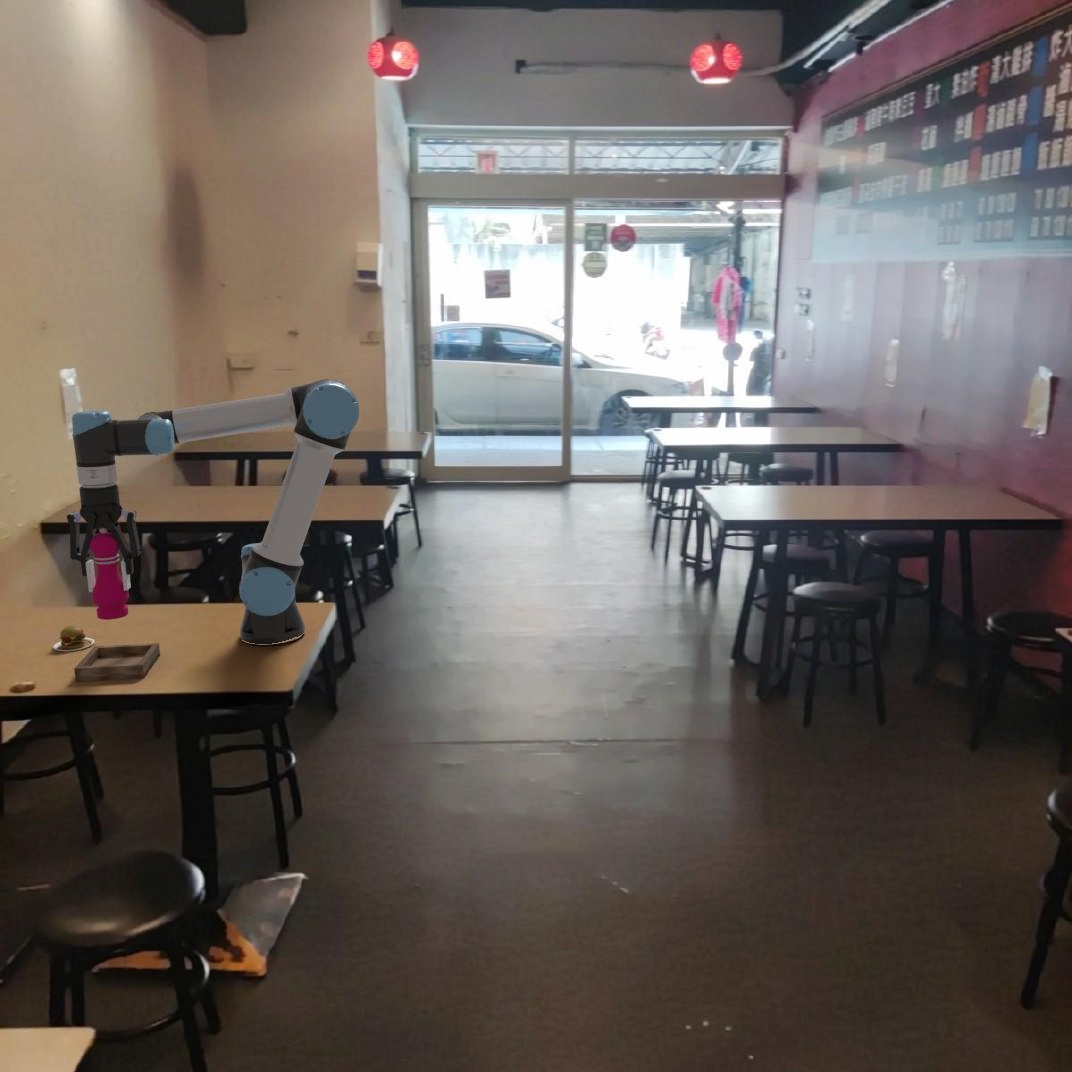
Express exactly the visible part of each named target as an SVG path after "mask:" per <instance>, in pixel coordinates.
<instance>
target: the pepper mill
mask: <svg viewBox="0 0 1072 1072" xmlns="http://www.w3.org/2000/svg"><path fill="white" fill-rule="evenodd" d="M98 531H99V533H97V534H95V536H94V537H93V538H92V539H91V542H90V549H91V553H93V554H94V556H93V562H94V564H96V567H97V568H96V569H97V575H96V576H97V577H96V584H95V587H94V590H93V592H92V602H93V603H94V604H95V605H96V606H98V608H96V616H97V619H100V620H103V621H104V620H106V621H107V620H108V621H109V620H116V619H122V618H125V617H126V616H128V615H129V607H128V605H127V604H125V603H126V602H127V601H128V600H129V598H130V593H129V589H128V590H126V591H124V587H123V578H122V575H121V574H120V571H119V563H118V562H120V554H119V553H118V552H119V551H120V549H119V547H118V545H117V543H116V541H115V539H114V537H113V535H112V533H111V532H109V528H99V529H98Z"/></svg>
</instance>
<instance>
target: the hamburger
mask: <svg viewBox="0 0 1072 1072" xmlns="http://www.w3.org/2000/svg"><path fill="white" fill-rule="evenodd" d="M59 634H60V636H59V639H60V640H61V641H59V642H56V643H54V644H53V645H52V649H53V650H55V651H58V652H59V651H60V652H74V651H80V650H83V649H86V648H88V647H90V646H93V645H94V643H95V639H93V638H90V637H86V635H87V634H86V633H85V632H84V629H83V628H82V627H81V626H78V625H69V626H66V627H64V628H62V629H61V631H60V633H59ZM85 642H89V643H90V644H89V645H87V646H85V647H84V645H85ZM59 646H62V648H63V649H58V647H59Z"/></svg>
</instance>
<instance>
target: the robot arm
mask: <svg viewBox="0 0 1072 1072" xmlns="http://www.w3.org/2000/svg"><path fill="white" fill-rule="evenodd" d="M359 416H360V405H359V401H358V399H357V396H356V395H355V393H354V392H353V391H352V390H351V389H350V388H349V387H348V386H347V385H345V384H344V383H343V382H341V381H339V380H336V379H331V378H327V379H326V378H324V379H319V380H316V381H314V382H310V383H307V384H306V383H305V384H304V385H298V386H294V387H293V386H292V387H288V389H287V390H286V391H285V392H282V393H281V392H280V393H277V394H276V393H275V394H269V395H263V396H255V397H250V398H244V399H235V400H230V401H223V402H222V401H221V402H215V403H209V404H203V405H197V406H190V407H183V408H177V409H173V410H164V411H149V412H146V413H144V414H141V415H140V416H139V417H138V418H137V419H125V420H124V419H121V420H116V419H112V417H111V413H110V411H108V410H82V411H77V412H75V413H74V414H73V415H72V418H71V419H72V420H71V421H72V422H71V424H72V434H71V435H72V439H73V445H74V447H73V448H74V454H75V462H76V473H77V478H78V479H77V480H78V484H79V485H81V486H80V487H79V490H78V491H79V497H80V498H79V499H80V510H79V511H76V512H74V511H73V512H70V513H69V514H67V515H66V520H67V523H68V524H69V548H70V549H69V551H70V555H69V556H70V559H71V560H72V561H79V563H80V567H81V574H82V576H83V577H87V587H88V592H89V593H93V590H94V587H95V584H96V581H97V579H96V573H95V563H94V559H90V558H91V556H90V555H91V553H92V551H91V549H90V542H91V539H92V538H93V537H94V536H95V535H96V531H97V530H99V528H108V531H109V533H112V535H113V537H114V539H115V541H116V543H117V545H118V547H119V551H120V554H121V555H122V558H123V559H122V560H121V561H120V567H121V578H122V580H123V587H124V591H126V590H128V591H129V590H130V588H131V587H132V586H131V585H132V584H131V575H133V574H134V573H135V569H134V560H133V559H135V558H138V557H139V556H140V555H141V554H142V548H141V544H140V539H139V534H138V529H137V528H138V527H137V524H136V517H137V511H136V510H131V511H130V510H127V509H123V507H122V505H121V502H120V494H119V493H120V492H119V485H117V482H118V474H117V467H116V466H117V465H116V464H117V463H116V457H123V456H159V455H160V456H161V455H169V454H172V453H173V452H174V450H175V445H176V444H181V443H187V442H194V441H201V440H207V439H213V438H219V437H220V438H221V437H227V436H232V435H239V434H245V433H252V432H258V431H264V430H271V429H277V428H283V427H291V426H292V427H293V428H294V429H293V434H294V437H295V439H296V445H295V448H294V450H293V454H292V456H291V459H290V463H289V464H288V468H287V471H286V474H285V477H284V479H283V480H282V481H283V482H282V484H281V487H280V490H279V493H278V496H277V499H276V501H275V504H274V508H273V510H272V514H271V516H270V518H269V521H268V525H267V527H266V529H265V533H264V536H263V539H262V541H261V542H258V543H257V542H256V543H255V542H254V543H249V544H246V545H244V546H242V548H241V554H240V558H241V562H242V565H241V566H242V573H241V578H240V582H239V585H238V593H239V596H240V599H241V602H242V604H243V605H244V607H245V609H244V613H243V617H242V619H241V620H242V621H241V625H240V629H239V633H240V640H241V639H242V640H244V641H246V642H249V643H255V644H272V643H278V642H282V641H286V640H289V639H292V638H294V637H298V636H300V635H302V634H303V633H304V631H305V632H306V626H305V622H304V619H303V617H302V615H301V612H300V610H299V607H298V605H297V603H296V600H297V599H296V586H297V583H298V581H299V576H300V574H301V571H302V569H303V567H304V563H305V562H304V559H303V558H302V556H301V551H302V549H303V545H304V542H305V540H306V537H307V535H308V531H309V528H310V526H311V523H312V520H313V517H314V514H315V512H316V509H317V506H318V504H319V501H320V498H321V495H322V492H323V489H324V487H325V483H326V482H327V481H326V480H327V479H328V475H329V473H330V470H331V467H332V464H333V461H334V459H335V456H336V455H337V454H339V453H341V452H343V451H345V449H346V446H347V443H348V441H349V439H350V436H351V432H352V431H353V429H355V427H356V426H357V424H358V420H359ZM121 516H122V517H123V520H124V521H125V523H126V530H127V534H128V539H129V544H128V542H127V539H126V538H125V536H124V534H123V532H122V530H121V526H120V522H118V521H119V519H120V518H121ZM81 518H82V519H84V521H85V523H87V526H86V530H85V532H86V533H85V538H84V541H83V544H82V549H81V539H80V536H81V535H80V534H81V530H80V522H81V520H82V519H81ZM242 640H241V641H242Z"/></svg>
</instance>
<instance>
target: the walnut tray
mask: <svg viewBox="0 0 1072 1072" xmlns="http://www.w3.org/2000/svg"><path fill="white" fill-rule="evenodd" d="M159 656H160V657H161V651H160V642H157V643H156V642H155V643H154V642H153V643H136V644H135V643H134V644H118V645H116V644H115V645H97V646H96V645H95V646H93V647H92V649H91V650H89V652H88V653H87V654H86V655H85V656H84V657H83V658H82V659H81V660H80V662H79V663H78V664H77V665H76V666H75V667H74V668H73V670H74V676H75V677H74V678H75V682H76V683H81V682H96V681H97V682H99V681H114V680H115V681H116V680H132V679H133V680H135V679H145V678H146V677H147V675H148V674H149V672H150V671H151V669H152V668H153V667H154V665H155V664H156V662H157V661H158V660H159V658H160V657H159ZM158 657H159V658H158ZM154 663H155V664H154ZM152 666H153V667H152ZM149 670H150V671H149Z"/></svg>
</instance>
